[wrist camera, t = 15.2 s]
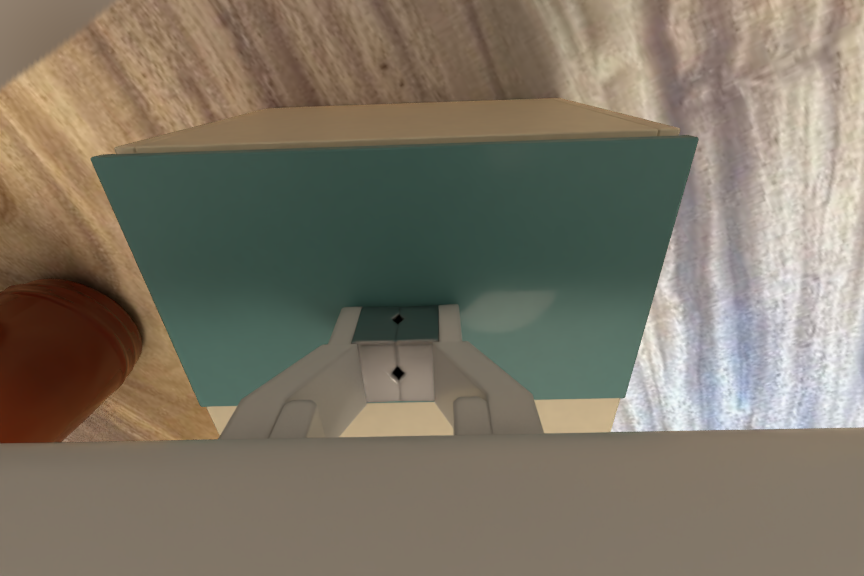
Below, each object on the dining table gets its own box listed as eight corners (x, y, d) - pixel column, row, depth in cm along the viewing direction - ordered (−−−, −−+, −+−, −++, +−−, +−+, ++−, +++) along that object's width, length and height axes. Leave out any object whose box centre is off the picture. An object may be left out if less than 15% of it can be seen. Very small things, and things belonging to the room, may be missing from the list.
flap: (102, 154, 8) (87, 157, 8) (689, 134, 8) (700, 137, 8) (206, 398, 12) (200, 407, 12) (619, 389, 12) (625, 398, 11)
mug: (-7, 235, 20) (-353, 368, 11) (169, 290, 22) (-13, 445, 13) (19, 387, 26) (-199, 558, 17) (157, 422, 27) (25, 594, 19)
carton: (267, 108, 17) (84, 154, 8) (560, 97, 17) (704, 133, 8) (325, 364, 25) (263, 534, 16) (527, 359, 24) (582, 529, 15)
